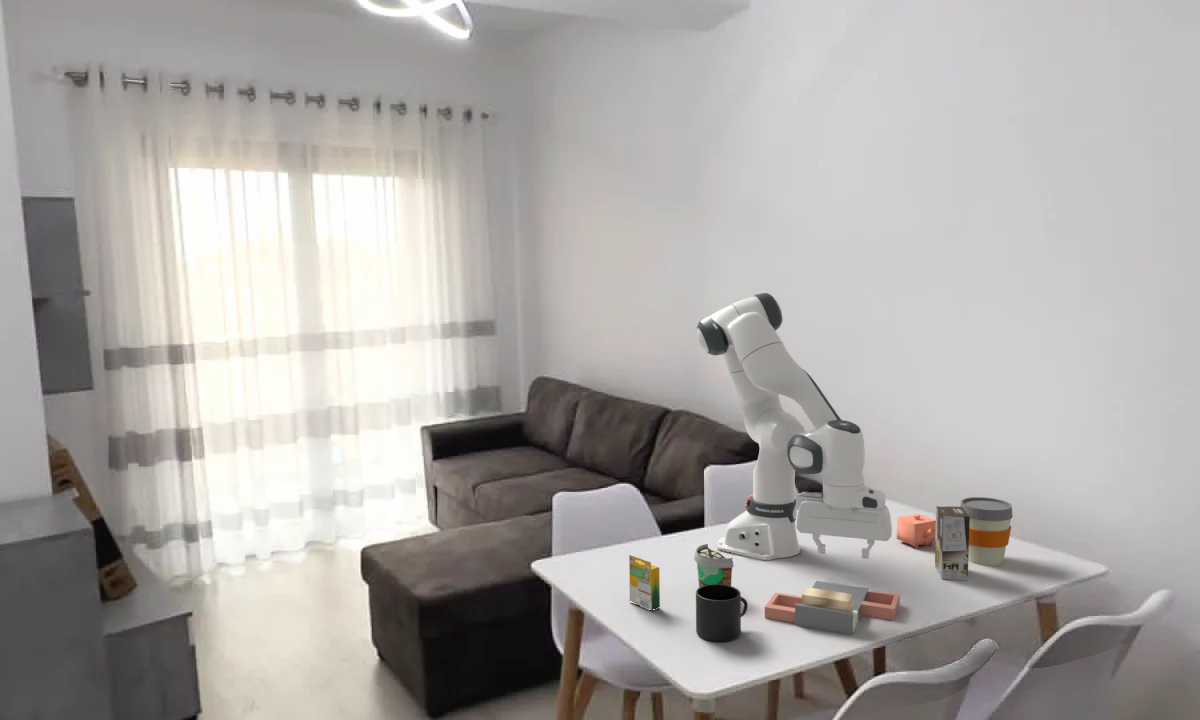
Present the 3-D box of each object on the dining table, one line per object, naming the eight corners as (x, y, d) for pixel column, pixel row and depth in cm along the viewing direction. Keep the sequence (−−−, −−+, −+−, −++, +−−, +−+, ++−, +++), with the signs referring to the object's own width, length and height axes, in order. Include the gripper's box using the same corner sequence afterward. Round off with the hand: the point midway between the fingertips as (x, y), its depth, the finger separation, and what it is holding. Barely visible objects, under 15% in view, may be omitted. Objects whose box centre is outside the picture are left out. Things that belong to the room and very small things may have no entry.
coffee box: (968, 581, 205) (970, 516, 204) (940, 579, 207) (942, 515, 205) (960, 567, 214) (962, 506, 212) (934, 566, 216) (935, 505, 214)
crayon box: (660, 608, 193) (660, 559, 192) (651, 612, 191) (650, 562, 190) (638, 599, 198) (637, 551, 197) (629, 602, 197) (628, 554, 195)
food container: (684, 586, 206) (684, 546, 205) (706, 582, 208) (706, 543, 207) (711, 604, 195) (710, 562, 193) (733, 599, 197) (733, 558, 196)
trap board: (763, 619, 186) (763, 599, 185) (787, 586, 204) (787, 568, 204) (886, 640, 174) (887, 619, 174) (900, 603, 193) (900, 584, 192)
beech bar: (801, 612, 183) (802, 594, 183) (806, 604, 187) (806, 587, 187) (849, 619, 179) (849, 601, 178) (852, 612, 183) (853, 594, 182)
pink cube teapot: (922, 553, 226) (923, 523, 225) (891, 540, 237) (891, 511, 236) (945, 548, 229) (945, 519, 228) (913, 536, 240) (913, 508, 239)
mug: (759, 635, 178) (759, 594, 177) (710, 646, 173) (710, 604, 172) (735, 618, 187) (735, 579, 186) (688, 628, 182) (687, 588, 181)
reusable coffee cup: (948, 558, 221) (950, 502, 219) (974, 548, 228) (976, 494, 227) (994, 571, 211) (996, 513, 209) (1020, 560, 218) (1022, 504, 217)
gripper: (793, 494, 187) (793, 554, 189) (890, 502, 179) (889, 565, 180) (798, 487, 193) (798, 545, 194) (892, 494, 184) (892, 555, 186)
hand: (843, 555), depth 187 cm, fingers open, 8 cm apart
